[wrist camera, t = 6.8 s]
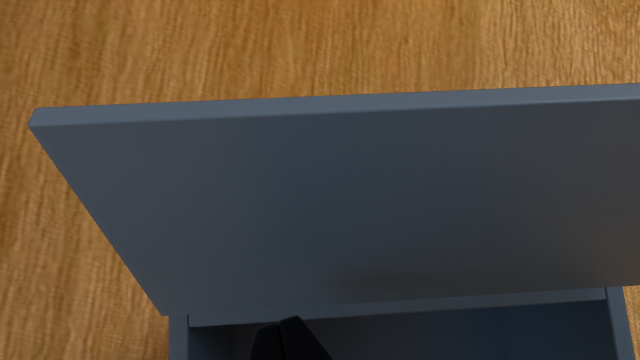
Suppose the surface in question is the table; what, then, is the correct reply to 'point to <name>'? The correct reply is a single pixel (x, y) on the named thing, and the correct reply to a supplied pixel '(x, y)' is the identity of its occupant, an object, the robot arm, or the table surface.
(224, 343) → the carton
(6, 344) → the table surface
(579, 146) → the flap
